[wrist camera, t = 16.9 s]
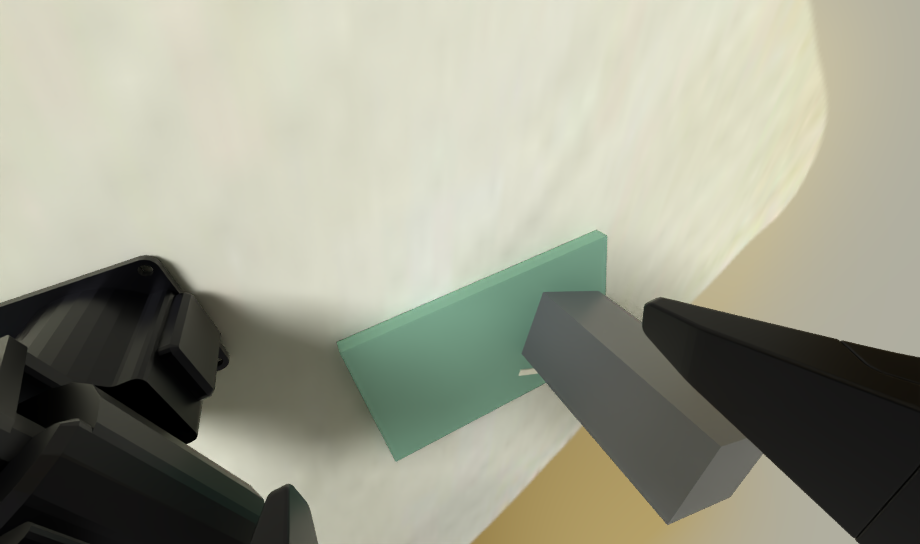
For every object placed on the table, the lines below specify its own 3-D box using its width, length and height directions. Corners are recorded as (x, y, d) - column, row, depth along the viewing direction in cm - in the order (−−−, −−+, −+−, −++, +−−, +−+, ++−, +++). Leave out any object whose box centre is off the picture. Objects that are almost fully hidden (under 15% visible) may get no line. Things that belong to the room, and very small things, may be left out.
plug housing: (521, 353, 28) (667, 525, 18) (543, 291, 26) (721, 446, 16) (574, 348, 30) (730, 497, 20) (598, 290, 28) (784, 425, 18)
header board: (391, 450, 29) (406, 494, 26) (336, 342, 22) (348, 384, 20) (595, 344, 33) (626, 372, 30) (596, 230, 27) (636, 251, 24)
